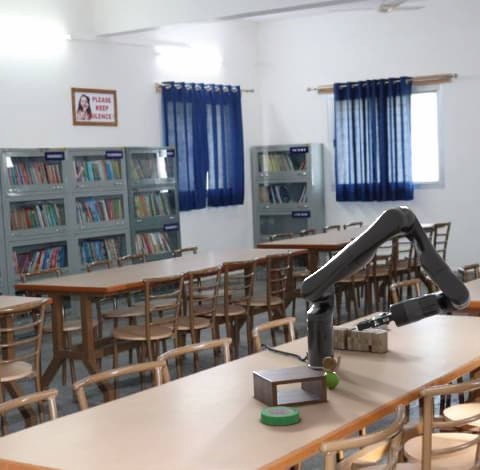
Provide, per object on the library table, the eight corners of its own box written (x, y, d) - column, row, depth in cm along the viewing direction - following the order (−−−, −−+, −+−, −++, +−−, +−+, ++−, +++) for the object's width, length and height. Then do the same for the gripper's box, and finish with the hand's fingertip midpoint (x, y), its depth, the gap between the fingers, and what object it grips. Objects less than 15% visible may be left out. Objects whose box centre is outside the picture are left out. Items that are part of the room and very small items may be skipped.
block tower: (391, 351, 361) (324, 343, 380) (391, 330, 360) (324, 322, 379) (381, 355, 355) (314, 346, 374) (381, 333, 354) (314, 325, 373)
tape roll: (289, 427, 263) (289, 417, 263) (254, 423, 269) (254, 414, 268) (305, 417, 272) (305, 408, 272) (271, 413, 278) (270, 404, 278)
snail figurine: (342, 390, 302) (341, 353, 301) (322, 390, 303) (320, 353, 302) (342, 386, 307) (341, 350, 306) (322, 386, 308) (321, 350, 308)
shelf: (254, 396, 299) (252, 371, 299) (305, 390, 304) (304, 365, 303) (272, 408, 284) (271, 381, 283) (327, 401, 288) (326, 375, 288)
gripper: (404, 299, 306) (356, 314, 310) (403, 302, 292) (353, 317, 297) (411, 321, 305) (363, 336, 309) (411, 325, 292) (360, 340, 296)
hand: (358, 327), depth 303 cm, fingers open, 8 cm apart
